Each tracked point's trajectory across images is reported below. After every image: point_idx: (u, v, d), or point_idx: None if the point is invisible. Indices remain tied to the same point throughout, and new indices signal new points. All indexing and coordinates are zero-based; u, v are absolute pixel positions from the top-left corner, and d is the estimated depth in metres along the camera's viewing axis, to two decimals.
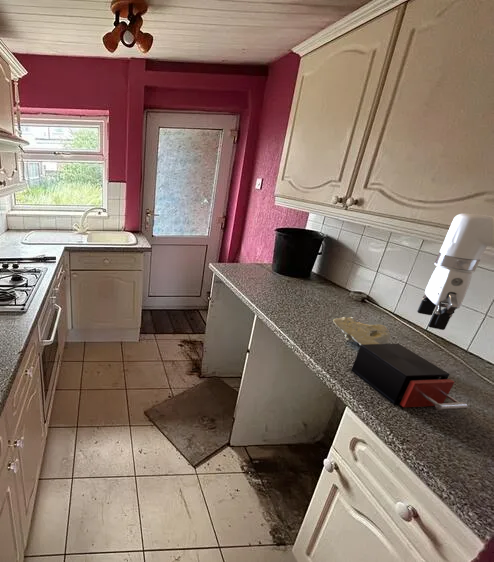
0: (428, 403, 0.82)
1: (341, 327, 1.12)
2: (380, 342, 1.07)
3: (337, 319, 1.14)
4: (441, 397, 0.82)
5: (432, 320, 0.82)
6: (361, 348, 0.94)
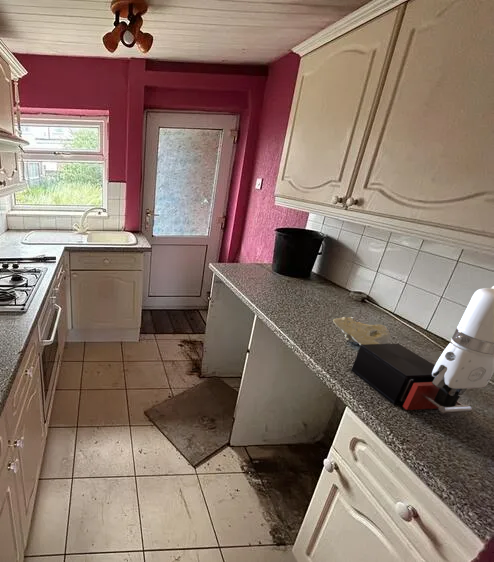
0: (431, 406, 0.81)
1: (341, 327, 1.12)
2: (380, 342, 1.07)
3: (337, 319, 1.14)
4: None
5: (438, 394, 0.78)
6: (361, 348, 0.94)
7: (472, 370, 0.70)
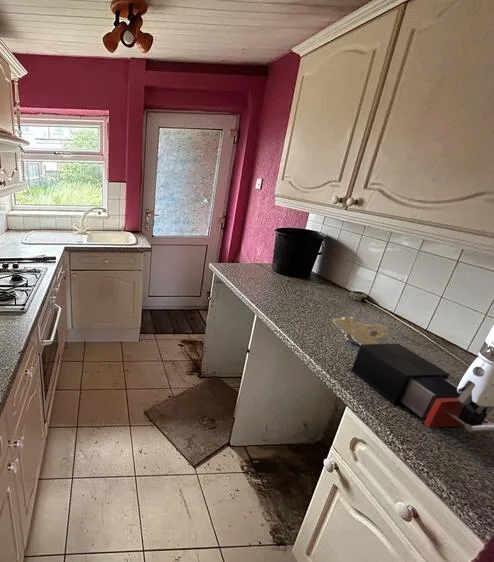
0: (454, 423, 0.76)
1: (341, 327, 1.12)
2: (380, 342, 1.07)
3: (337, 319, 1.14)
4: None
5: (462, 411, 0.73)
6: (361, 348, 0.94)
7: None
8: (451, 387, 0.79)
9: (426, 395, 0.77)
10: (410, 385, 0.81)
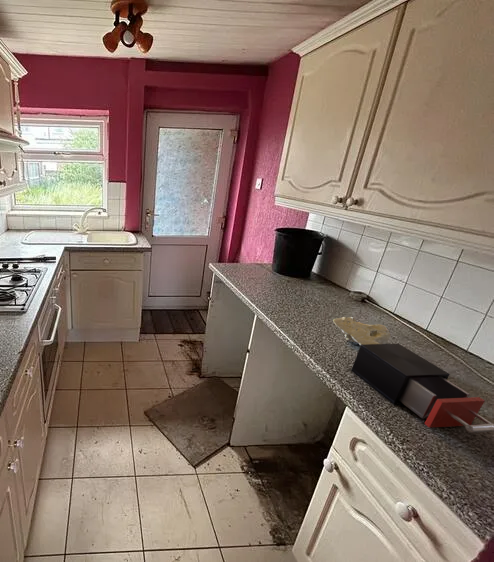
0: (455, 423, 0.76)
1: (341, 327, 1.12)
2: (380, 342, 1.07)
3: (337, 319, 1.14)
4: (470, 417, 0.76)
5: None
6: (361, 348, 0.94)
7: None
8: (452, 387, 0.79)
9: (426, 396, 0.77)
10: (411, 385, 0.81)
